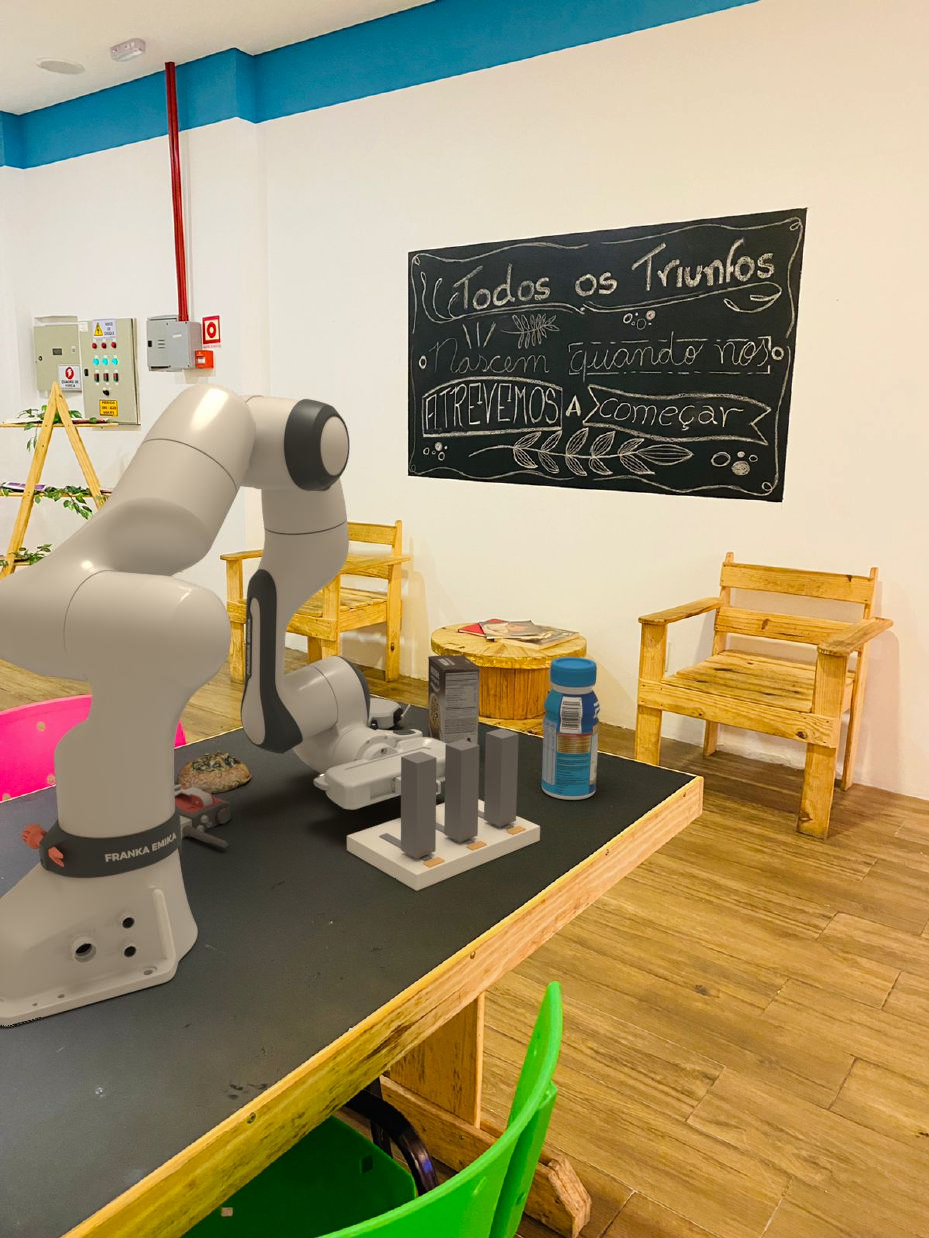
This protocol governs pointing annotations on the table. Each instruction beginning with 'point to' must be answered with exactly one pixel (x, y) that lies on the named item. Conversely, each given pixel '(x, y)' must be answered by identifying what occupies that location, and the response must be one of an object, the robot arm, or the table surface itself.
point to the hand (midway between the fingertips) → (432, 790)
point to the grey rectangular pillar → (461, 790)
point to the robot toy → (384, 713)
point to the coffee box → (453, 698)
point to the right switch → (501, 777)
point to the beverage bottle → (571, 730)
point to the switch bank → (439, 848)
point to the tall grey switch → (418, 804)
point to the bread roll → (214, 773)
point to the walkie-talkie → (200, 813)
